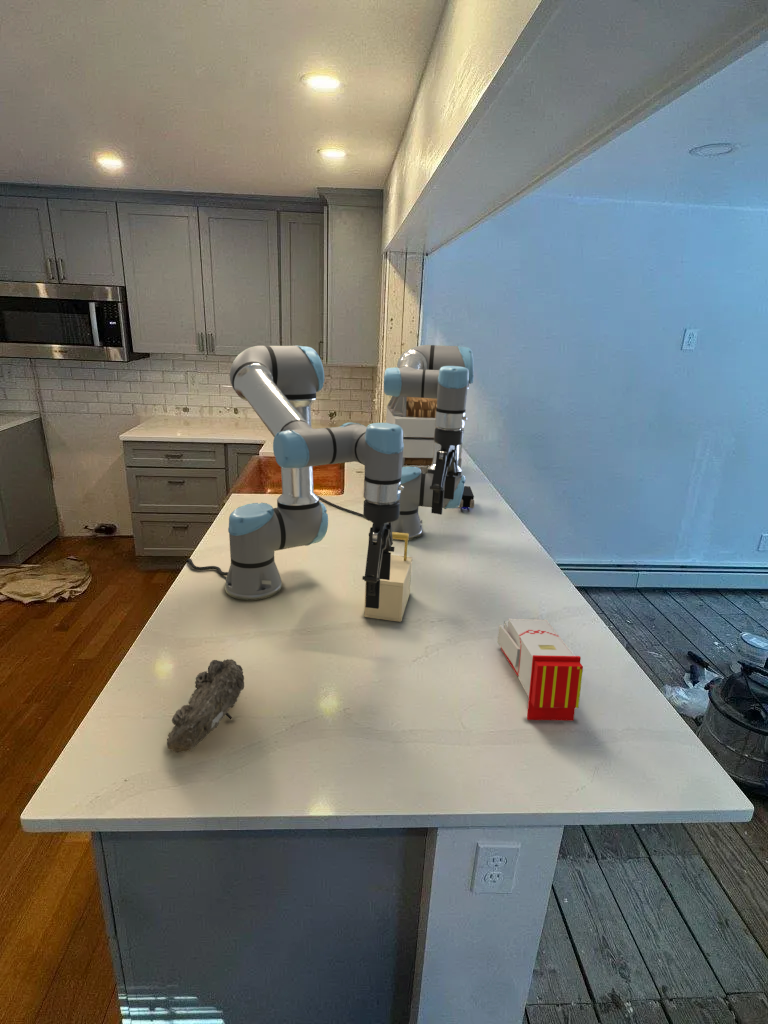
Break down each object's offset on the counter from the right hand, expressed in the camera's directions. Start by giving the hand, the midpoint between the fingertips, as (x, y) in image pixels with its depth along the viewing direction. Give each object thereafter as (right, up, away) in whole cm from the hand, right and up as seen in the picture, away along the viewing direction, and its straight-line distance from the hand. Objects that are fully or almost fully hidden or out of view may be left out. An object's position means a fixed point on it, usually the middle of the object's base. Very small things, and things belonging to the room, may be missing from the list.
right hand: (442, 505), depth 153 cm
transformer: (+1, +17, +121) cm, 123 cm away
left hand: (-17, -19, -30) cm, 40 cm away
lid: (-14, -17, -5) cm, 23 cm away
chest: (-15, -27, -2) cm, 31 cm away
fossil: (-49, -41, -45) cm, 78 cm away
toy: (+16, -38, -30) cm, 51 cm away
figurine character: (+16, 0, +76) cm, 77 cm away
